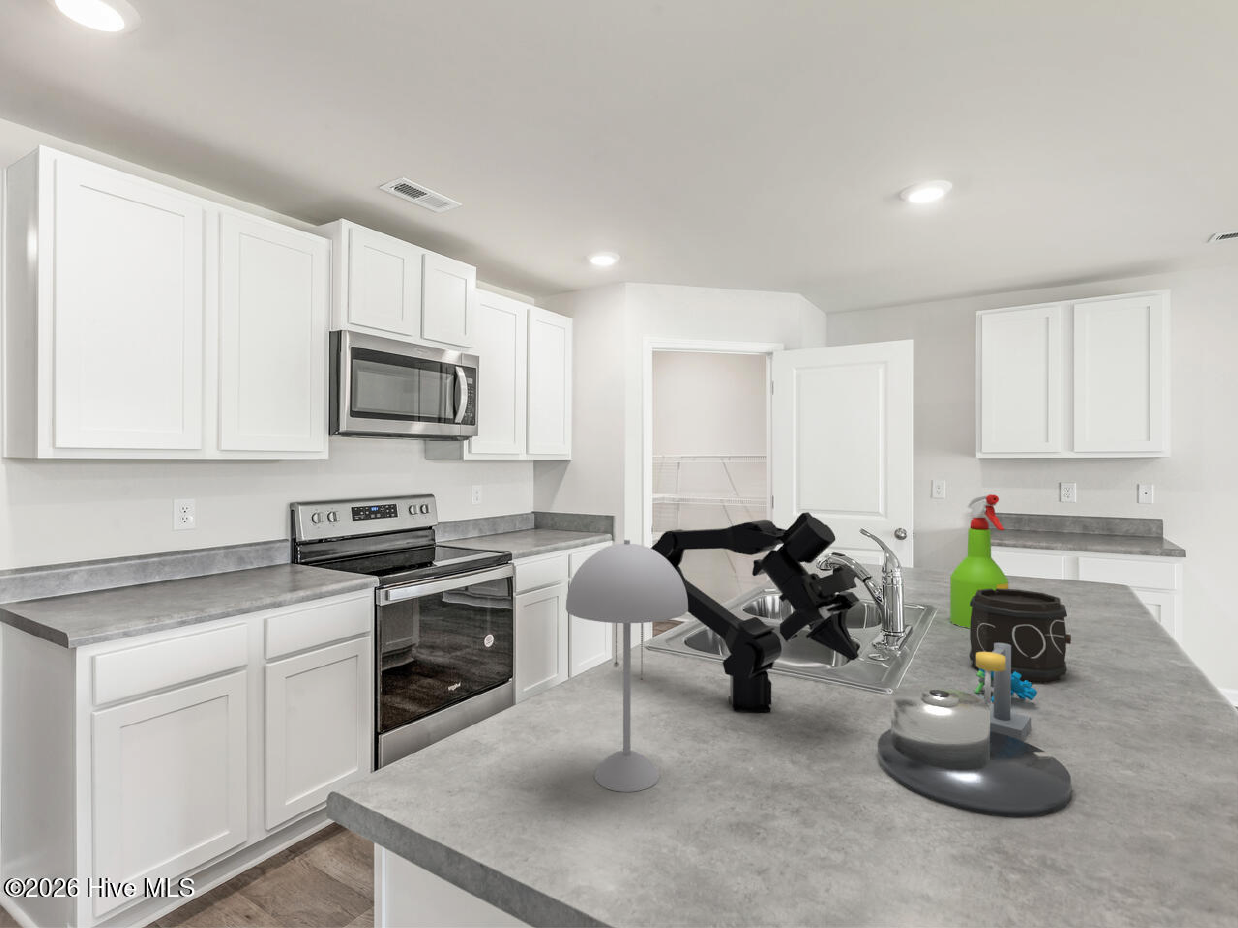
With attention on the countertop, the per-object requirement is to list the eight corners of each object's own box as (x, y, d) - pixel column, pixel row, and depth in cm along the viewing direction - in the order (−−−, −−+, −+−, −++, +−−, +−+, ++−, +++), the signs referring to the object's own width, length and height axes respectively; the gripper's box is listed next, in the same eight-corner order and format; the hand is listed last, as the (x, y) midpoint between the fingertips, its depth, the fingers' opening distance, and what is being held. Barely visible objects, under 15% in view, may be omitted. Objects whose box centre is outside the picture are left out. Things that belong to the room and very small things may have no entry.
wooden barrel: (1073, 692, 125) (1074, 609, 125) (966, 675, 135) (967, 598, 135) (1068, 666, 141) (1069, 593, 141) (973, 653, 150) (973, 584, 150)
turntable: (921, 815, 82) (922, 796, 82) (854, 734, 106) (855, 719, 106) (1116, 817, 82) (1116, 797, 82) (1004, 735, 106) (1005, 720, 106)
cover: (913, 768, 90) (914, 709, 90) (877, 729, 103) (877, 677, 103) (1009, 769, 90) (1009, 710, 90) (960, 729, 103) (961, 678, 103)
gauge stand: (983, 717, 113) (984, 636, 113) (1031, 729, 108) (1031, 644, 108) (961, 742, 103) (962, 653, 103) (1012, 755, 99) (1013, 662, 99)
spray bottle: (975, 635, 165) (976, 495, 164) (940, 617, 183) (941, 491, 182) (1030, 635, 165) (1031, 495, 164) (990, 618, 183) (991, 491, 182)
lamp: (572, 747, 101) (572, 532, 101) (683, 749, 101) (684, 533, 100) (558, 806, 84) (558, 548, 84) (692, 808, 84) (693, 549, 83)
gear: (1051, 699, 117) (1014, 661, 116) (1034, 726, 116) (997, 688, 115) (1000, 686, 128) (966, 652, 127) (985, 711, 126) (950, 676, 125)
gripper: (797, 556, 102) (868, 641, 94) (848, 544, 115) (913, 618, 108) (752, 600, 107) (816, 683, 100) (806, 583, 121) (865, 656, 113)
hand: (855, 658), depth 105 cm, fingers closed
